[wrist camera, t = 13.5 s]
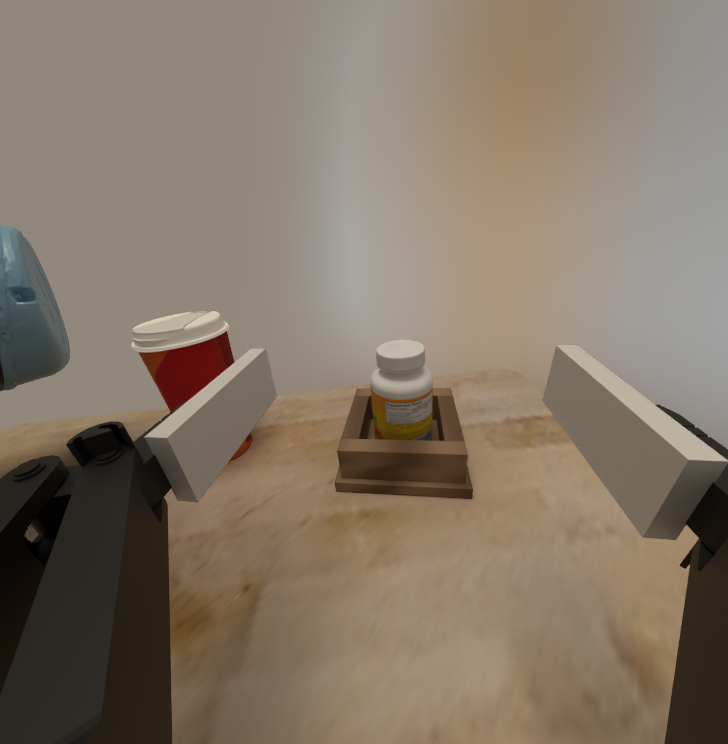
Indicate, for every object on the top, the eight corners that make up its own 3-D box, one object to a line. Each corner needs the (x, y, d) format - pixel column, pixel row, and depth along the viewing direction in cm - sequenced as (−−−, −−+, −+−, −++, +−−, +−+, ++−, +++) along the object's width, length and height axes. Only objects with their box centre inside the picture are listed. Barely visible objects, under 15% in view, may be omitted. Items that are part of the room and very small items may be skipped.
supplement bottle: (379, 423, 31) (372, 337, 27) (430, 425, 30) (432, 335, 26) (371, 459, 26) (362, 361, 22) (433, 462, 25) (435, 361, 21)
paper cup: (217, 423, 36) (175, 310, 29) (274, 427, 34) (242, 307, 28) (166, 470, 29) (97, 336, 23) (234, 478, 27) (179, 335, 21)
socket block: (336, 491, 25) (329, 455, 23) (356, 415, 34) (353, 386, 33) (471, 498, 23) (476, 459, 21) (453, 416, 33) (455, 385, 31)
